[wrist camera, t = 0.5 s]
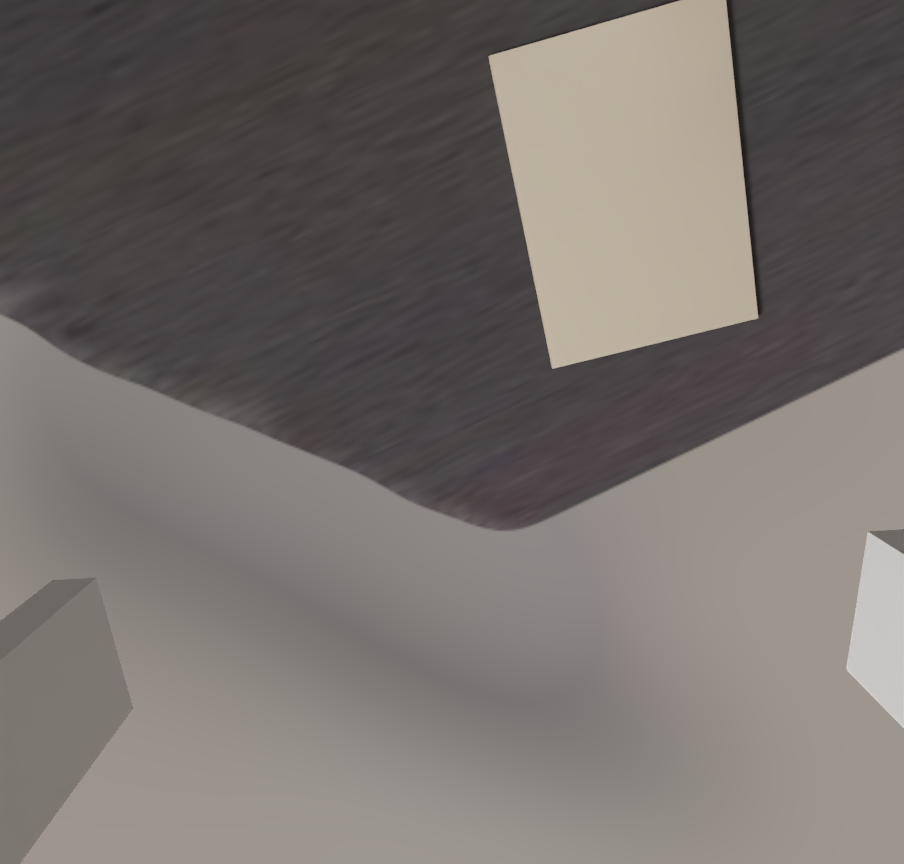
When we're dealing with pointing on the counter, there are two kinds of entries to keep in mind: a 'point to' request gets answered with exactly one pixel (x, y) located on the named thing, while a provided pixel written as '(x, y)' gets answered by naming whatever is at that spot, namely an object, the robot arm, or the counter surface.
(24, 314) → the counter surface
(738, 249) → the mat
